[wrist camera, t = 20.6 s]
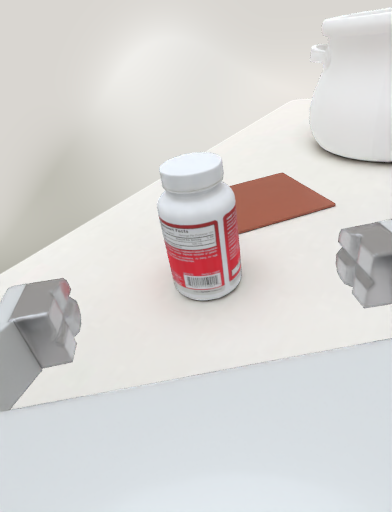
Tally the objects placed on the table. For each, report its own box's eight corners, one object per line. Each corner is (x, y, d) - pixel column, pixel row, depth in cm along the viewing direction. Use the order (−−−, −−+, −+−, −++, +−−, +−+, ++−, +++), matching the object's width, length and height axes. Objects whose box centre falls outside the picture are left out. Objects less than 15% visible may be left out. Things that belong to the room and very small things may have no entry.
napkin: (222, 238, 37) (222, 236, 36) (190, 198, 46) (190, 196, 46) (335, 205, 39) (335, 203, 39) (282, 174, 49) (282, 172, 49)
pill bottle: (216, 253, 34) (203, 143, 28) (256, 282, 30) (250, 158, 24) (162, 278, 32) (135, 165, 26) (196, 314, 27) (173, 186, 21)
